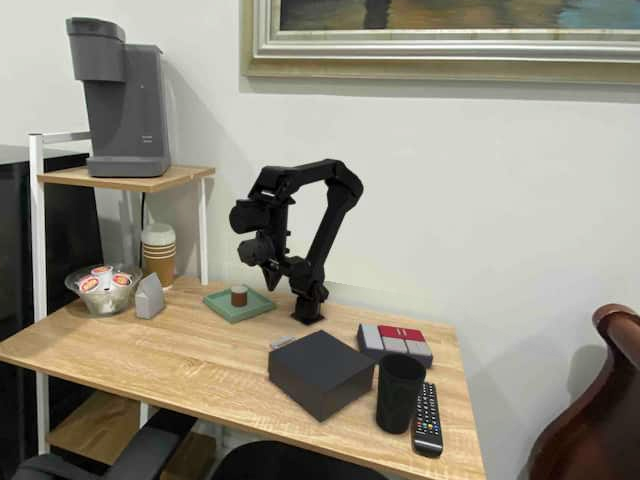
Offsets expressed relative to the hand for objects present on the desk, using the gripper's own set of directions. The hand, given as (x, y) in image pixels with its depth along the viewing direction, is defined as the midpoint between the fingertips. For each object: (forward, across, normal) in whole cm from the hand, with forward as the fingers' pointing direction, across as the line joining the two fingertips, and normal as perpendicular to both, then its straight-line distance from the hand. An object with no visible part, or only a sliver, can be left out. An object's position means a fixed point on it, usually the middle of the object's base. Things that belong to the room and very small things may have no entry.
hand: (271, 291), depth 90 cm
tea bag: (+12, -27, -18) cm, 35 cm away
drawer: (+11, +16, -3) cm, 20 cm away
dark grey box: (+12, +20, -3) cm, 24 cm away
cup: (+12, +35, 0) cm, 37 cm away
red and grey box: (+12, +22, +19) cm, 32 cm away
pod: (+12, -17, +3) cm, 21 cm away
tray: (+12, -17, +3) cm, 21 cm away
